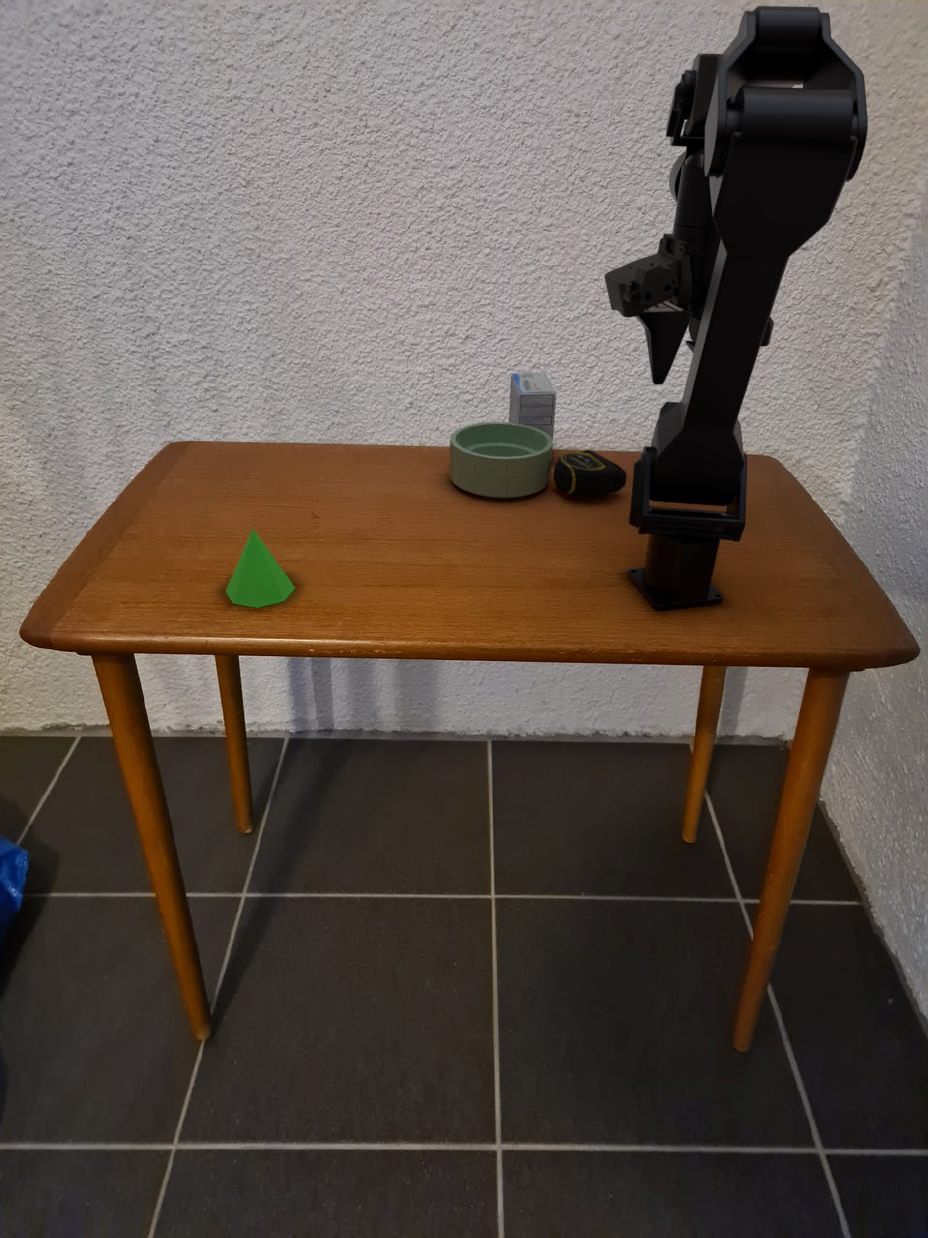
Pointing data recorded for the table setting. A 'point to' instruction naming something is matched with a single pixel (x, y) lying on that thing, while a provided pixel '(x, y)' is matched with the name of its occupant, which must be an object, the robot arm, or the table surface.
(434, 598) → the table surface
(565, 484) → the tape measure
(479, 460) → the bowl
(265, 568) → the green faceted cone
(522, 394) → the medicine box
